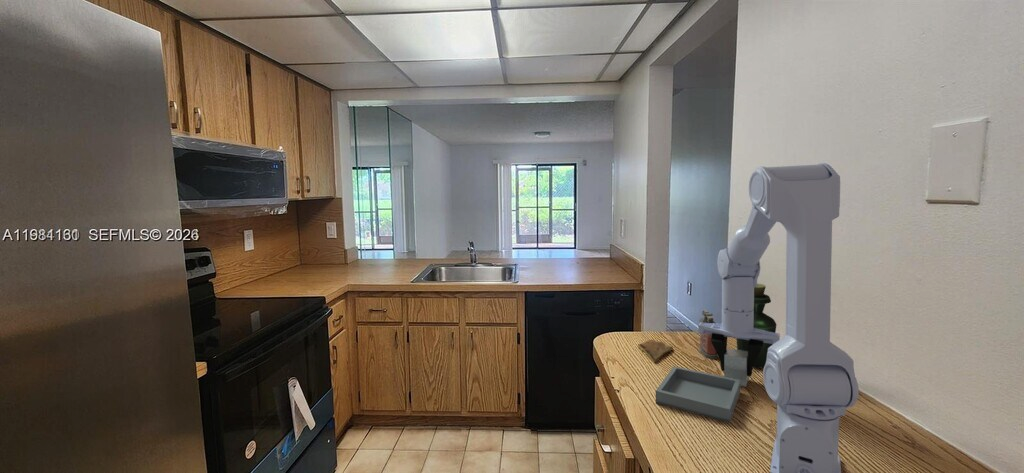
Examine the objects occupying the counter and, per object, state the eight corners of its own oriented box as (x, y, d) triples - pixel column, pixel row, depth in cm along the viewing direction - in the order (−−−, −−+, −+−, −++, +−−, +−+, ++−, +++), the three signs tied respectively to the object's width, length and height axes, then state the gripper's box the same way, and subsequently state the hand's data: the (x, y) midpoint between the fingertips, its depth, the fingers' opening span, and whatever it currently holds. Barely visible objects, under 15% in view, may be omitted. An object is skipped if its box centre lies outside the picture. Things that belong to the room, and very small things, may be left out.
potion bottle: (768, 373, 87) (770, 291, 85) (728, 362, 93) (729, 286, 91) (780, 361, 92) (782, 284, 90) (742, 352, 98) (743, 279, 96)
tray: (729, 423, 70) (729, 409, 70) (655, 403, 77) (655, 390, 77) (740, 392, 80) (740, 380, 80) (674, 377, 87) (673, 366, 87)
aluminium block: (746, 386, 81) (746, 358, 81) (724, 382, 84) (724, 354, 83) (748, 379, 85) (749, 351, 84) (727, 374, 87) (727, 347, 86)
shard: (654, 365, 94) (654, 358, 94) (624, 357, 100) (624, 350, 100) (674, 351, 102) (674, 344, 102) (645, 344, 107) (645, 337, 107)
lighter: (720, 359, 95) (720, 318, 94) (704, 358, 96) (705, 317, 95) (710, 346, 103) (711, 308, 102) (696, 345, 104) (696, 307, 103)
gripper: (781, 307, 81) (779, 372, 83) (703, 299, 90) (703, 357, 92) (778, 317, 76) (777, 386, 77) (695, 307, 84) (695, 369, 86)
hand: (736, 371), depth 84 cm, fingers closed on aluminium block, 4 cm apart
